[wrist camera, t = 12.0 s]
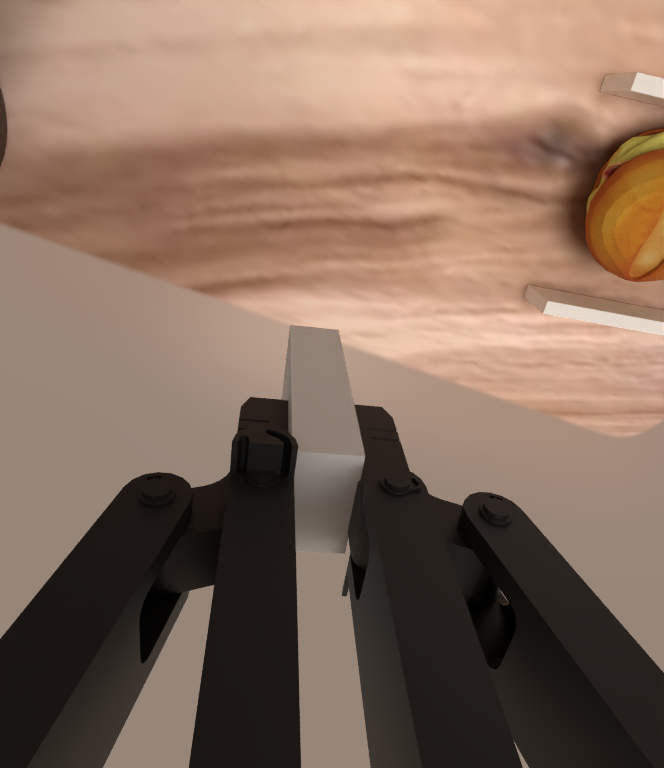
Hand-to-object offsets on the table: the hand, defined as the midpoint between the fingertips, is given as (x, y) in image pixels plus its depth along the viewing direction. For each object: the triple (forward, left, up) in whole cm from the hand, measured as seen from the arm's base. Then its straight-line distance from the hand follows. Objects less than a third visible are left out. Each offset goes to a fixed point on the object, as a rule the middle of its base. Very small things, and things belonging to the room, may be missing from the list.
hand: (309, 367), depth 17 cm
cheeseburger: (+18, +17, -27) cm, 37 cm away
